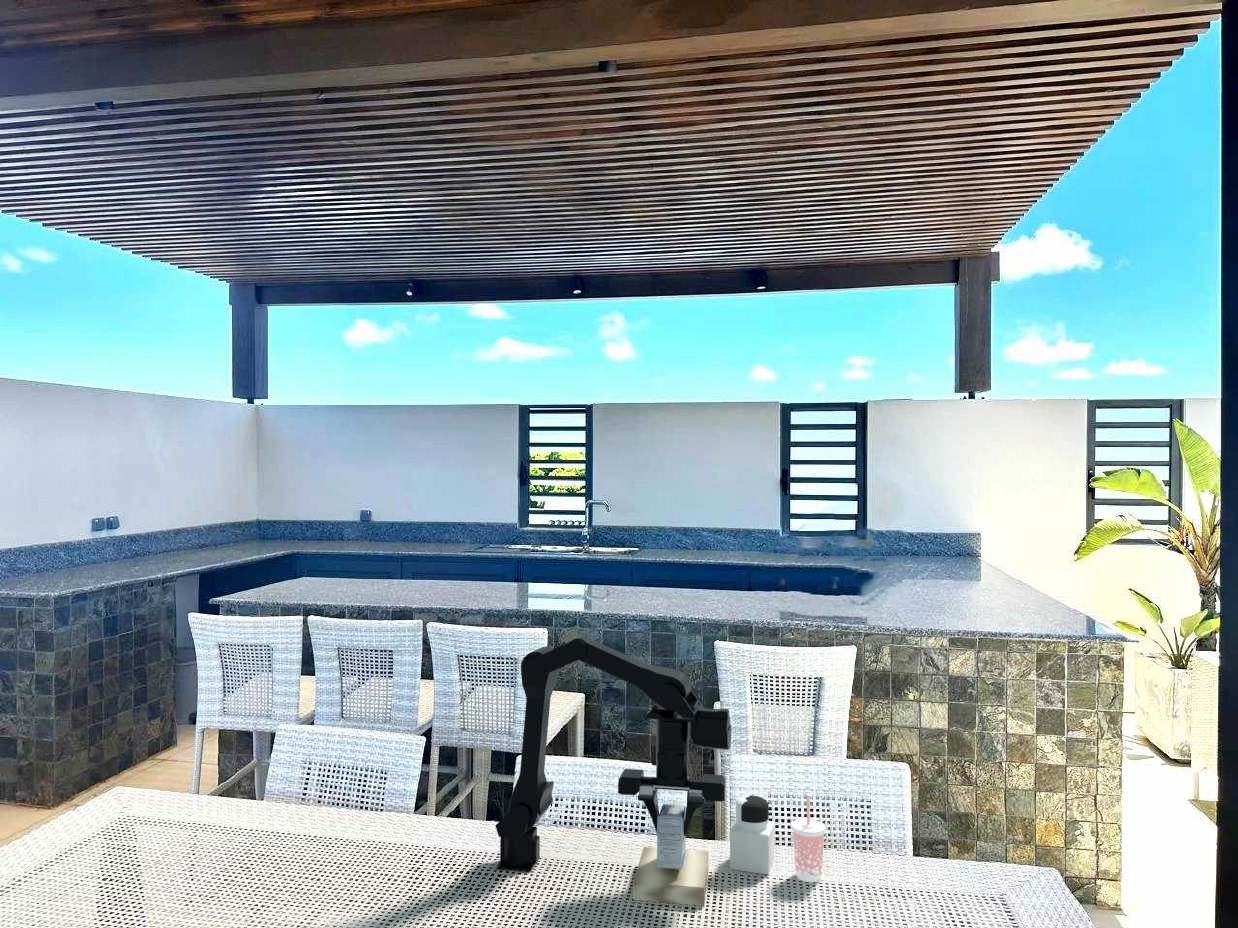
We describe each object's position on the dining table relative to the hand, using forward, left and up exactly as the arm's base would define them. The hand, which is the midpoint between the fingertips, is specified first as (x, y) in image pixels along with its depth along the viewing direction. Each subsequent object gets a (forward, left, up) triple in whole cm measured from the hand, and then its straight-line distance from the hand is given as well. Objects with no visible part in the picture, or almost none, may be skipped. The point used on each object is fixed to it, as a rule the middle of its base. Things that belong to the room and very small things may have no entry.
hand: (671, 833), depth 141 cm
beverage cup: (+24, +7, -9) cm, 27 cm away
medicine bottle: (+14, +10, -9) cm, 19 cm away
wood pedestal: (0, 0, -9) cm, 9 cm away
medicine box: (0, 0, -5) cm, 5 cm away
